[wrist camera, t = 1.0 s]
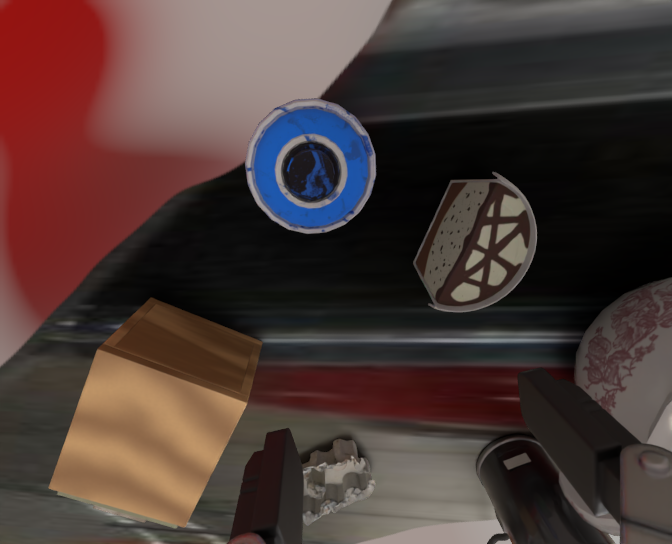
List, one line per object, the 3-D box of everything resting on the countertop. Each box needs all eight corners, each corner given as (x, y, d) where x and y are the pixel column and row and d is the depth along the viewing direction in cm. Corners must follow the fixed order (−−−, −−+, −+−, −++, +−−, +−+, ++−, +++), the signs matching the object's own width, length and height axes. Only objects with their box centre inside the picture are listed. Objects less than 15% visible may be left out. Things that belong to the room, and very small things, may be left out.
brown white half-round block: (456, 293, 43) (497, 336, 33) (407, 275, 42) (434, 314, 32) (510, 187, 39) (573, 202, 30) (457, 165, 38) (505, 173, 29)
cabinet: (212, 444, 47) (184, 527, 37) (108, 410, 45) (47, 488, 35) (262, 341, 43) (247, 403, 33) (150, 296, 41) (97, 348, 31)
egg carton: (350, 430, 48) (354, 455, 44) (376, 471, 50) (381, 498, 46) (276, 465, 49) (273, 492, 45) (304, 503, 51) (304, 532, 47)
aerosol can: (288, 100, 35) (261, 51, 17) (365, 136, 37) (421, 129, 18) (259, 180, 38) (206, 218, 19) (332, 211, 39) (352, 276, 20)
